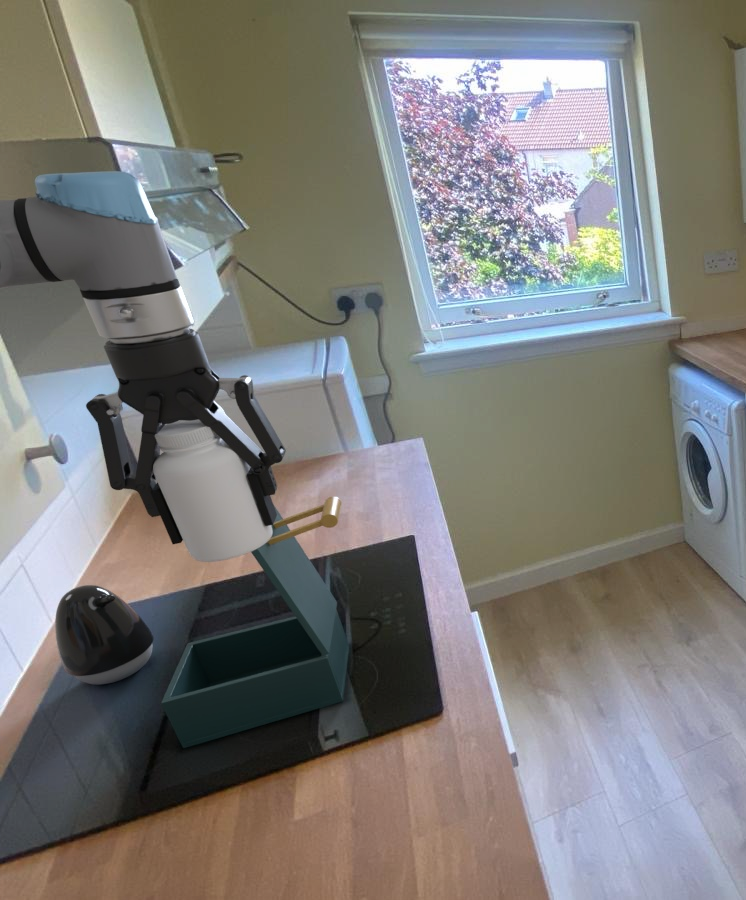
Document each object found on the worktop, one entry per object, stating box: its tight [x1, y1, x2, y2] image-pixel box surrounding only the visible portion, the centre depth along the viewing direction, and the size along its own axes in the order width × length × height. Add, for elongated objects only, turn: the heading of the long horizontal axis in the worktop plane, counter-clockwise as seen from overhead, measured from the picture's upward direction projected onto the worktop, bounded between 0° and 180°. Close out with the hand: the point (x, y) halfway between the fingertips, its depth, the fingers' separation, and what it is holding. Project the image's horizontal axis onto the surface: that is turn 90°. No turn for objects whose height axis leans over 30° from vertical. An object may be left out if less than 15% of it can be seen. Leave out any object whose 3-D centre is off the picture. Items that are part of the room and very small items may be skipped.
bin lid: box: [250, 496, 342, 656], centre depth 103 cm, size 19×14×9 cm
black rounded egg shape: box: [54, 584, 154, 685], centre depth 109 cm, size 10×10×15 cm
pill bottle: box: [153, 419, 273, 563], centre depth 81 cm, size 8×8×15 cm
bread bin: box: [160, 608, 350, 749], centre depth 105 cm, size 19×14×8 cm
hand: (226, 528), depth 83 cm, fingers closed on pill bottle, 8 cm apart
